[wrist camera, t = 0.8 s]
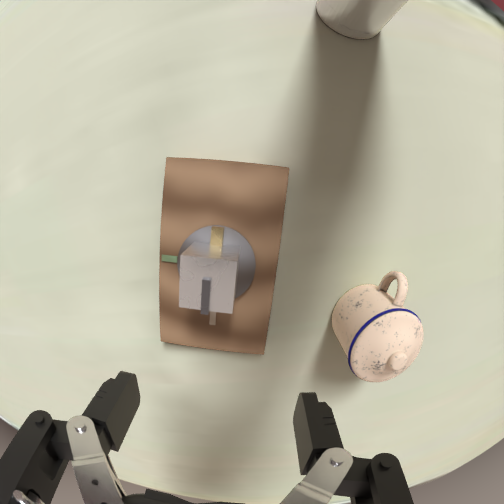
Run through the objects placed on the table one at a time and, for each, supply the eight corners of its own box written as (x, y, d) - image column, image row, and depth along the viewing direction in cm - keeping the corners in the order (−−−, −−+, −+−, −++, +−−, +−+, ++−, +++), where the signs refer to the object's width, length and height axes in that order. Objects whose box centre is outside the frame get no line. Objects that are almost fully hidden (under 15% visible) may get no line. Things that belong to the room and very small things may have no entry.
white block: (195, 224, 28) (180, 234, 22) (242, 229, 28) (239, 240, 22) (191, 300, 30) (177, 326, 24) (234, 305, 30) (230, 333, 24)
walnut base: (171, 159, 29) (164, 156, 26) (287, 169, 29) (290, 167, 27) (165, 333, 34) (158, 344, 31) (263, 346, 34) (263, 358, 32)
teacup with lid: (376, 346, 35) (411, 397, 23) (319, 338, 34) (342, 397, 23) (408, 268, 32) (461, 300, 21) (349, 252, 32) (394, 284, 20)
